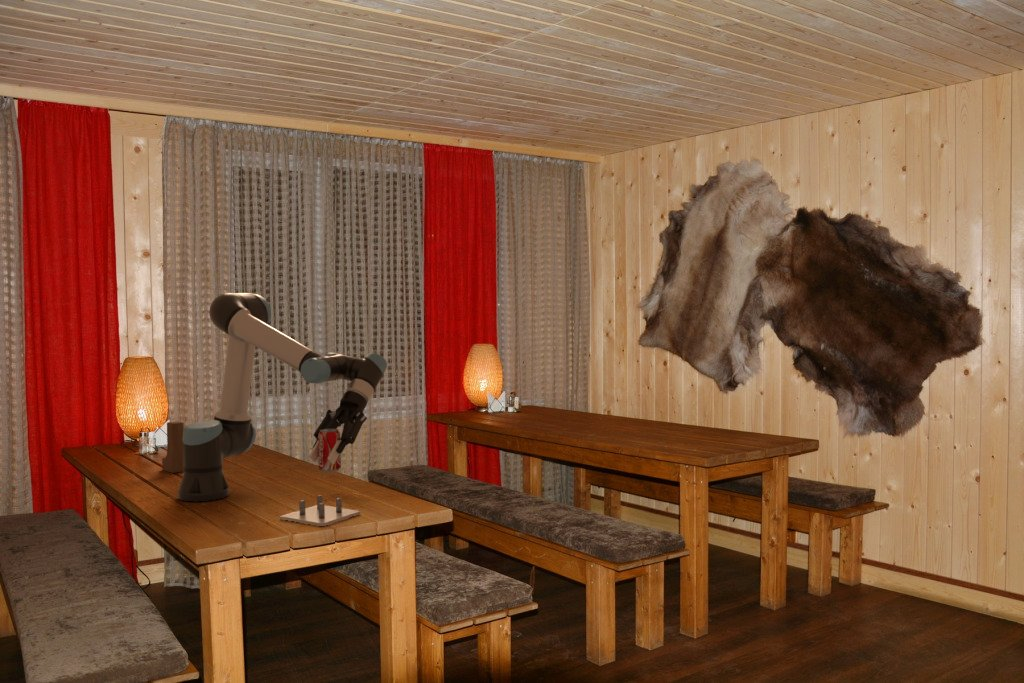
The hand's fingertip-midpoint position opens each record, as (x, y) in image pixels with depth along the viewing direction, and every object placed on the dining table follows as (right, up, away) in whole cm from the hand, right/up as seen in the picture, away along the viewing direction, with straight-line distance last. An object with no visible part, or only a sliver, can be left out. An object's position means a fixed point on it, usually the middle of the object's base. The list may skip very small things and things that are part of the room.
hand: (321, 460), depth 246 cm
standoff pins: (0, -16, -1) cm, 16 cm away
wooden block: (-68, -13, +65) cm, 95 cm away
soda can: (+2, -4, +3) cm, 5 cm away
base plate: (0, -16, -1) cm, 16 cm away
